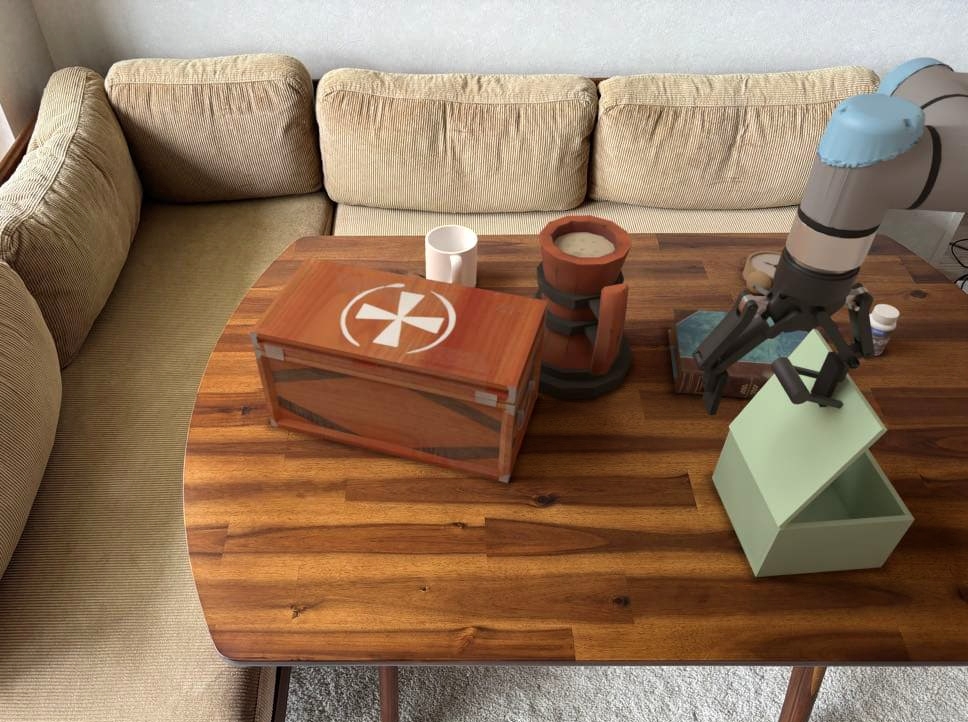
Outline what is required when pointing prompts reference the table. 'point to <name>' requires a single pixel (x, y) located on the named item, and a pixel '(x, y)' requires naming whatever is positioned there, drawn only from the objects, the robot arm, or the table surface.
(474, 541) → the table surface
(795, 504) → the lid
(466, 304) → the wooden box
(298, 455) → the table surface
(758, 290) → the alarm clock
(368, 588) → the table surface
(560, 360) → the tankard
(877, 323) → the pill bottle
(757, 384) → the book
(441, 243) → the mug
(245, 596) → the table surface
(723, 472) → the chest
